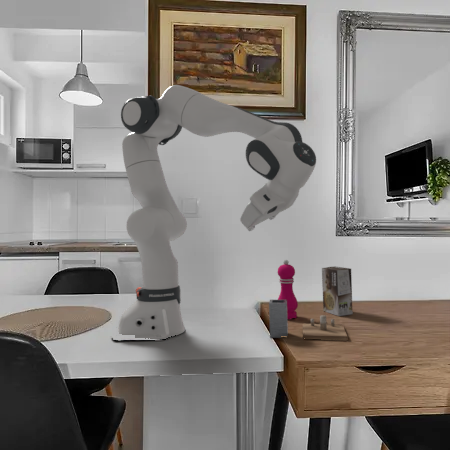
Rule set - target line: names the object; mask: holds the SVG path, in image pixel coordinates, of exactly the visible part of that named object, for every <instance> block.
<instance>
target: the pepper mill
mask: <svg viewBox="0 0 450 450" xmlns="http://www.w3.org/2000/svg"><path fill="white" fill-rule="evenodd" d="M289 262H290V261H289V260H288V259H284V260H283V264H281V265H279V267H278V268H277V275H278V277H279V278H278V280H279V281H278V282H279V283H280V293H279V295H278V298H277V300H287V318H288V320H293V319H292V318H295V319H297V318H298V314H297V311H296V310H297V309H298V307H299V304H298V300H297V297H296V295H295V292H294V290H293V289H294V288H293V284H294V282H295V281H294V280H295V279H294V276H295V275H296V270H295V268H294V266H293V265H292V264H290V263H289Z"/></svg>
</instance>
